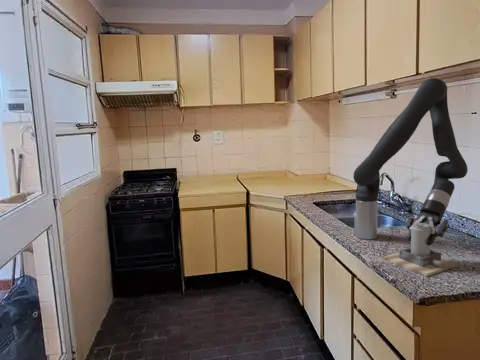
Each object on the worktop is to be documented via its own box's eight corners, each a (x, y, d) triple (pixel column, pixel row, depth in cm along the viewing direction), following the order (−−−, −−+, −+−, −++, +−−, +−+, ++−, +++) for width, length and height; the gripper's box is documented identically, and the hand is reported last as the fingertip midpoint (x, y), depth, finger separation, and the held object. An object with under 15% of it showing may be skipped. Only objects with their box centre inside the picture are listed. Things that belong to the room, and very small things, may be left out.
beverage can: (408, 256, 128) (408, 225, 126) (414, 251, 133) (415, 221, 131) (426, 261, 124) (427, 228, 122) (432, 255, 128) (433, 223, 126)
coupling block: (383, 259, 133) (383, 249, 132) (410, 251, 139) (411, 241, 139) (426, 276, 117) (426, 265, 116) (455, 266, 123) (455, 256, 123)
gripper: (413, 196, 135) (395, 232, 130) (453, 201, 123) (435, 241, 119) (420, 206, 139) (403, 242, 134) (459, 213, 127) (442, 252, 122)
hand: (418, 241), depth 126 cm, fingers closed on beverage can, 6 cm apart
